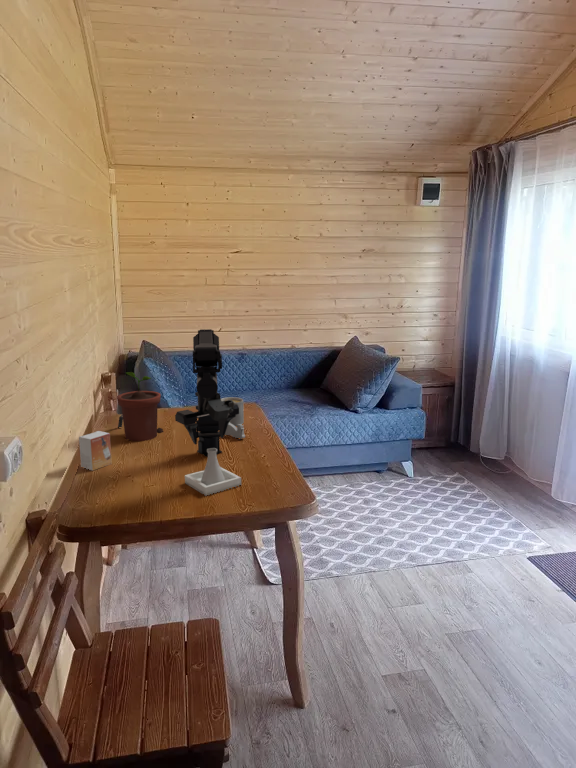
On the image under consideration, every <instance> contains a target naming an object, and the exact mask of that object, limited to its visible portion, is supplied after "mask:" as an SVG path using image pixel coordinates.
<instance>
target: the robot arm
mask: <svg viewBox="0 0 576 768" xmlns="http://www.w3.org/2000/svg"><path fill="white" fill-rule="evenodd" d="M214 332H215V331H214V330H213V329H212V328H211V329H210V328H209V329H208V328H207V329H205V328H204V329H202V328H200V329H197V334H195V336H193V337H192V342H193V343H192V345H193V350H192V373H193V374H196V392H195V393H194V394H195V395H194V396H195V397H197V405H195V410H196V411H192V410H190V409H184V410H178V411H176V414H175V415H174V417H175V422H177V423H179V424H181V425H183V426H184V427H185V429H186V431H187V432H188V435H189V436H190V438H191V441H192V442H193V444H194V445H197V447H198V448H197V449H198V450H197V453H199V454H200V455H203V456H204V457H208V452H207V449H209V448H216V449H217V452H216V454H217V455H218V454H222V453H223V451H222V450H221V448H220V447H221V446H220V445H221V444H220V438H222V439H224V438H225V432H226V429H227V426H228V424H229V422H230V420H231V419H232V418H234V417H236V415H237V414H239V406H238V405H237V404H234V402H233V401H232V400H227V401H221V399H222V398H221V393H219V392H218V389H219V388H218V374H217V373H221V370H222V369H223V359H222V358H223V356H222V353H221V351H220V337H219V336H218V335H217V334H216V333H214Z"/></svg>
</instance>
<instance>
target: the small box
mask: <svg viewBox="0 0 576 768" xmlns="http://www.w3.org/2000/svg"><path fill="white" fill-rule="evenodd" d="M78 441H79V443H78V444H79V455H80V457H79V458H80V468H81V467H84V468H86V469H85V470H88V469H89V471H95V470H97V469H101V468H103V467H107V466H109V465H112V463H113V462H112V461H113V460H112V449H111V445H112V444H111V434H110V433H109V432H105V431H101V430H96V431H94V432H91V433H87V434H84V435H81V436H79V437H78ZM84 468H83V469H84Z"/></svg>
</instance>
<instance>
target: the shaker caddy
mask: <svg viewBox="0 0 576 768" xmlns="http://www.w3.org/2000/svg"><path fill="white" fill-rule="evenodd" d="M220 469H221V471H222V474H223V476H224V479H225V481H222V482H218V483H215V484H211V485H208V486H206V485H205V484H203V483H201V479H202V476H203V473H204V470H205V469H204V470H200V471H196V472H193V473H192V472H191V473H188V474H185V475H184V483H185V484H186V485H187V486H189V487H190V488H192V489H194V490H195V491H197V492H198V493H200V494H202V495H203V494H204V496H205V497H207V495H208V496H210V494H211V495H214V494H217V492H218V493H221V492H224V490H225V491H227V490H226V489H228V490H230V489H229V488H231V489H233V488H232V487H235V488H237V487H236V486H238V487H240V486H239V485H241V486H242V477H241V476H239V475H237V474H235V473H233V472H231V471H229V470H227V469H225V468H223V467H222V466H220ZM220 491H221V492H220ZM213 493H214V494H213Z"/></svg>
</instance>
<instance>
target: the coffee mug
mask: <svg viewBox="0 0 576 768" xmlns="http://www.w3.org/2000/svg"><path fill="white" fill-rule="evenodd" d="M227 400H232V401H233V402H234V404H237V405H238V406H239V414H237V415H236V417H234V418H232V419H231V420H230V423H231V424H233V425H234V426H237V425H238V424H243V423H244V421H245V420H244V418H245V417H244V398H242V397H235V396H234V397H232V396H231V397H222V398H221V401H227ZM243 425H244V424H243Z"/></svg>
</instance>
